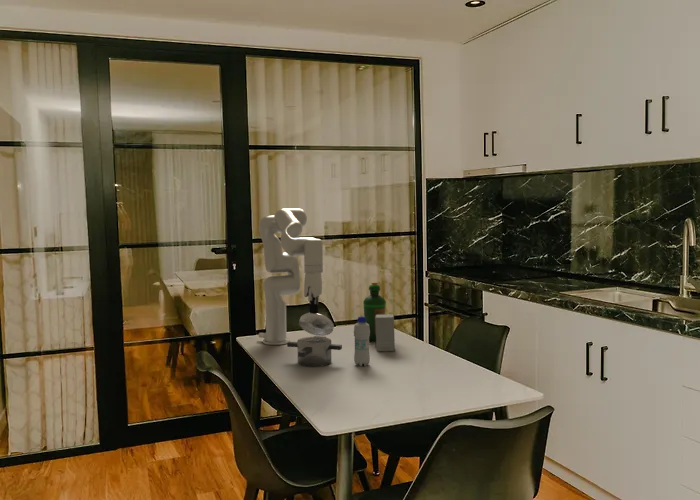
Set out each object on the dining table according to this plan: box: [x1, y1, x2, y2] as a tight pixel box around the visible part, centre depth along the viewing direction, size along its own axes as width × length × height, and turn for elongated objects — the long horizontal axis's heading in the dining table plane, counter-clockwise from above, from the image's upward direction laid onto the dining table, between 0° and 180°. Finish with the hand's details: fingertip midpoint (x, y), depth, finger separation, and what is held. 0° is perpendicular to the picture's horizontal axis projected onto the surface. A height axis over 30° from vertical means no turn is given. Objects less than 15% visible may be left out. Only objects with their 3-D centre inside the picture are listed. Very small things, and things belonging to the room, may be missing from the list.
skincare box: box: [375, 314, 396, 352], centre depth 273 cm, size 8×7×16 cm
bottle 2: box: [363, 281, 386, 343], centre depth 292 cm, size 11×11×28 cm
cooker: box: [286, 335, 343, 368], centre depth 248 cm, size 23×24×9 cm
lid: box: [298, 312, 335, 337], centre depth 255 cm, size 15×15×3 cm
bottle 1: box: [353, 315, 371, 367], centre depth 248 cm, size 7×7×20 cm
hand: (314, 313), depth 251 cm, fingers closed
